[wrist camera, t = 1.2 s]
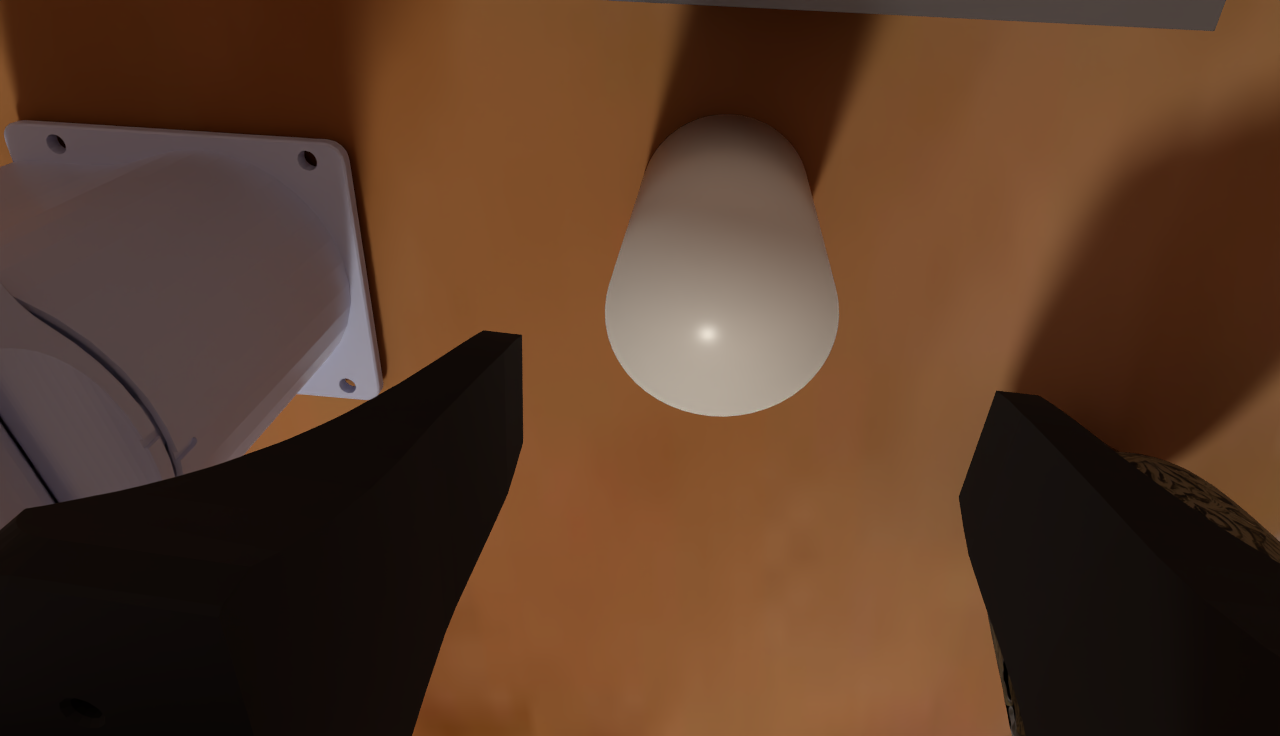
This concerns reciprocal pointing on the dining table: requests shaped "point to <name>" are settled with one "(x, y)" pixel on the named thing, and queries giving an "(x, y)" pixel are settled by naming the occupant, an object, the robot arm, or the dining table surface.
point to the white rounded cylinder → (723, 272)
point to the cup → (1197, 497)
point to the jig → (1013, 10)
